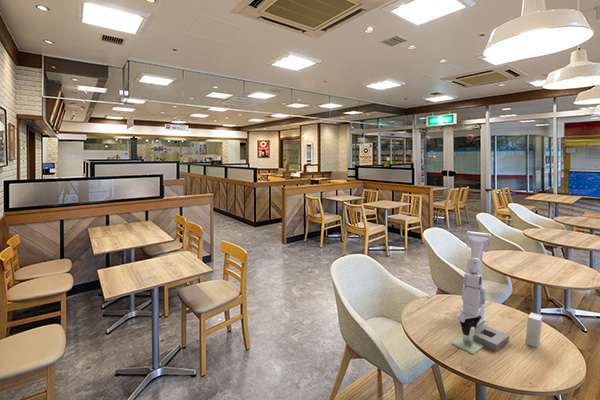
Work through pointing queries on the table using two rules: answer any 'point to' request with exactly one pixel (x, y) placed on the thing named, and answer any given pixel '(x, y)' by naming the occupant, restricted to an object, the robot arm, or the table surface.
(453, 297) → the table surface
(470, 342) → the plug
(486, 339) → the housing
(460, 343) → the mat
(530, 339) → the skincare box
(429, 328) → the table surface
